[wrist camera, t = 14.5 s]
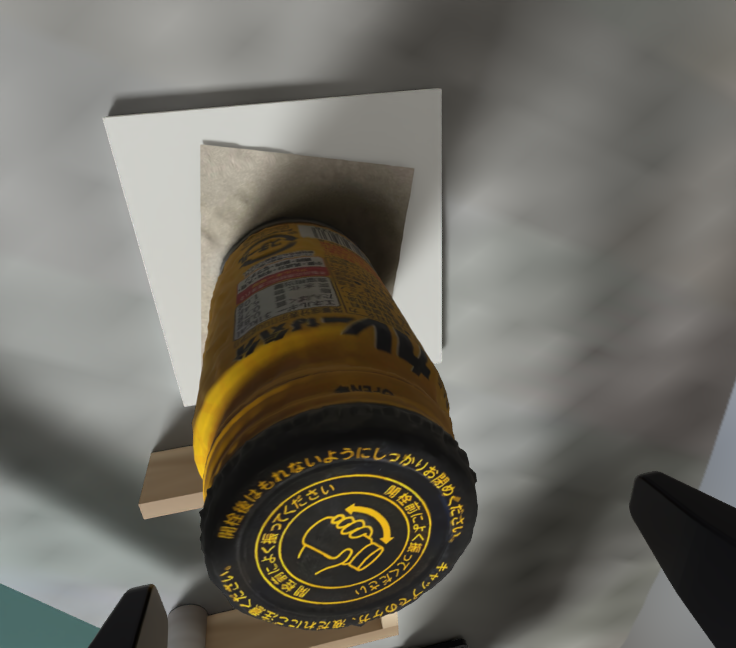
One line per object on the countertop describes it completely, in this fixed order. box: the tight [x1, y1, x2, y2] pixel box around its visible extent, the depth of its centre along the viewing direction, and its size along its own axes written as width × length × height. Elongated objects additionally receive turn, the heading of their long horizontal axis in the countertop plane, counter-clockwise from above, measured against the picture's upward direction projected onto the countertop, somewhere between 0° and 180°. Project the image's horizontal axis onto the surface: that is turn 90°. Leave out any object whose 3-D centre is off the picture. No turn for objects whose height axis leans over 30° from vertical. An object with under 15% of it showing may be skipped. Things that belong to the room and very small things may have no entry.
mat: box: [103, 88, 442, 407], centre depth 20 cm, size 11×11×1 cm
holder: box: [138, 445, 399, 648], centre depth 23 cm, size 12×12×6 cm
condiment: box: [192, 145, 478, 631], centre depth 14 cm, size 7×8×12 cm
